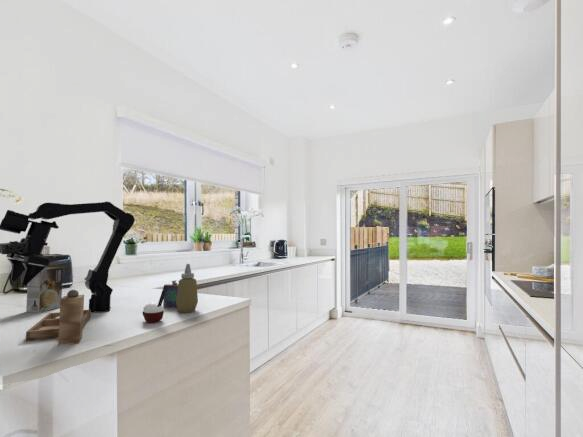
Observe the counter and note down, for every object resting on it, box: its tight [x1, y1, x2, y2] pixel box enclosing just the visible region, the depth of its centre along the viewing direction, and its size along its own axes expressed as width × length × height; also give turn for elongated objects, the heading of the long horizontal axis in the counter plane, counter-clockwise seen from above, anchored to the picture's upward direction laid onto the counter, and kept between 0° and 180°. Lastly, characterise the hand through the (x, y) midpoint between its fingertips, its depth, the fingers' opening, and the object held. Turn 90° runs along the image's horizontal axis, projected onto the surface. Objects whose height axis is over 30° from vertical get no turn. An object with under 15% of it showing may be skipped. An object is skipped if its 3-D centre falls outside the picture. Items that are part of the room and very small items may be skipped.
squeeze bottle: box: [176, 263, 199, 314], centre depth 120 cm, size 8×8×18 cm
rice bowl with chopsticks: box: [142, 285, 167, 324], centre depth 104 cm, size 10×6×12 cm, turn 48°
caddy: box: [25, 309, 92, 342], centre depth 97 cm, size 12×23×2 cm, turn 26°
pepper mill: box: [57, 289, 85, 346], centre depth 85 cm, size 5×5×14 cm
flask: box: [162, 280, 178, 309], centre depth 127 cm, size 9×3×11 cm, turn 71°
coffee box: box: [25, 266, 63, 313], centre depth 121 cm, size 9×6×16 cm
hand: (18, 282), depth 103 cm, fingers open, 9 cm apart
